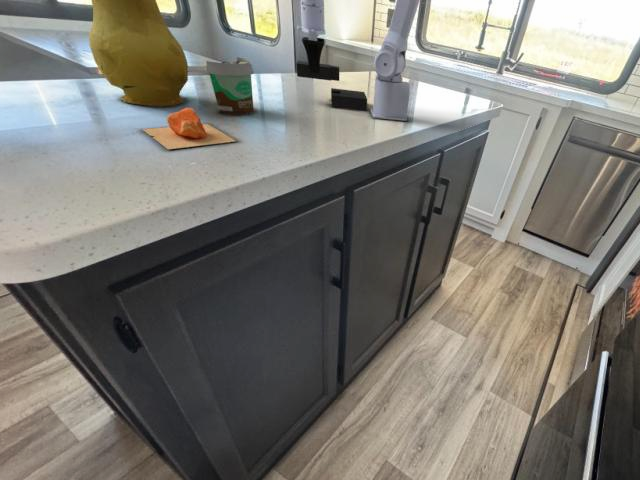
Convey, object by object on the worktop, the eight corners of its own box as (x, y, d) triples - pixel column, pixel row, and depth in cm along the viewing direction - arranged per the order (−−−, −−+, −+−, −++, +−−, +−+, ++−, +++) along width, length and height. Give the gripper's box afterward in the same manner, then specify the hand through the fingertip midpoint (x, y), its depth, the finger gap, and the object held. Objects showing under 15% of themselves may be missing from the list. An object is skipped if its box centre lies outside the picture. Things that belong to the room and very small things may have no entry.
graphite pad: (363, 103, 104) (364, 91, 102) (366, 110, 97) (367, 99, 95) (331, 99, 102) (331, 88, 100) (331, 107, 95) (331, 95, 93)
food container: (241, 119, 75) (232, 66, 69) (215, 114, 75) (204, 61, 69) (268, 109, 84) (262, 61, 78) (245, 104, 85) (238, 56, 78)
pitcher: (97, 105, 69) (33, -72, 53) (118, 90, 82) (72, -55, 67) (193, 112, 75) (160, -45, 60) (198, 97, 88) (172, -34, 73)
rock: (168, 150, 57) (159, 123, 54) (142, 130, 62) (132, 104, 60) (236, 141, 64) (232, 117, 61) (207, 123, 70) (202, 100, 67)
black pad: (338, 78, 96) (338, 66, 94) (339, 81, 92) (339, 68, 91) (298, 73, 94) (297, 60, 92) (297, 76, 90) (296, 63, 88)
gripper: (297, 3, 88) (300, 65, 96) (293, 3, 77) (298, 73, 86) (324, 7, 89) (325, 68, 98) (325, 9, 79) (326, 77, 87)
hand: (314, 71), depth 92 cm, fingers closed on black pad, 5 cm apart
